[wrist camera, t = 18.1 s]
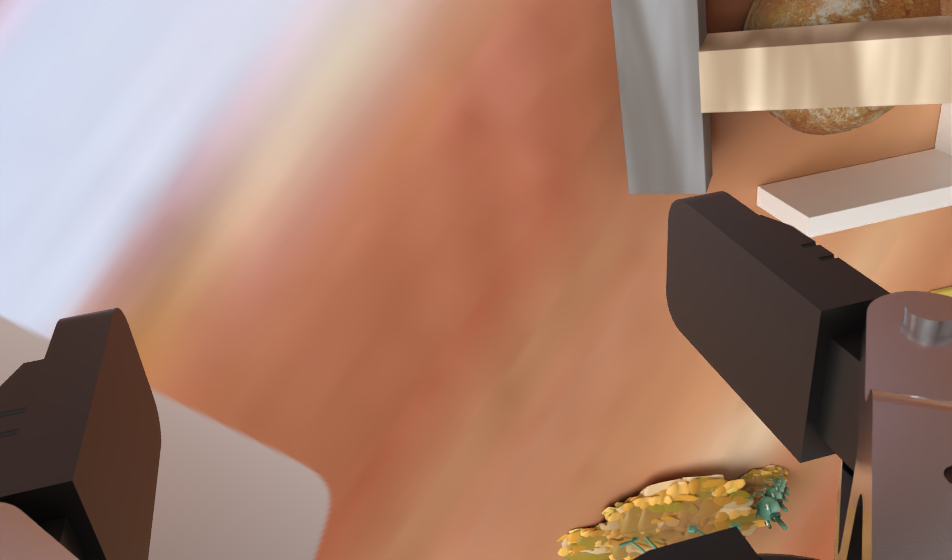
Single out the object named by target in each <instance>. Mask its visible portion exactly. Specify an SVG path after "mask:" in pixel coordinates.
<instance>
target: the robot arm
mask: <svg viewBox="0 0 952 560" xmlns="http://www.w3.org/2000/svg"><path fill="white" fill-rule="evenodd" d="M666 295H667V302H668V307H669V311H670V314H671V316H672V319H673V321H674V323H675V325H676V326H677V328H678V329H679V331H680V332H681V333H682V334H683V335H684V336H685V337H686V338H687V339H688V340H689V342H690V343H691V344H692V345H693V346H694V347H695V348H696V349H697V350H698V351H699V353H700V354H701V355H702V356H703V357H704V358H705V359H706V360H707V361H708V362H709V363H710V365H711V366H712V367H713V368H714V369H715V370H716V371H717V372H718V373H719V374H720V376H721V377H722V378H723V379H724V380H725V381H726V382H727V383H728V384H729V385H730V387H731V388H732V389H733V390H734V391H735V392H736V393H737V394H738V395H739V396H740V397H741V399H742V400H743V401H744V402H745V403H746V404H747V405H748V406H749V407H750V408H751V410H752V411H753V412H754V413H755V414H756V415H757V416H758V417H759V418H760V419H761V421H762V422H763V423H764V424H765V425H766V426H767V427H768V428H769V429H770V430H771V431H772V433H773V434H774V435H775V436H776V437H777V438H778V439H779V440H780V441H781V442H782V444H783V445H784V446H785V447H786V448H787V449H788V450H789V451H790V452H791V453H792V455H793V456H794V457H795V458H796V459H797V460H798V461H799V462H800V463H802V462H806V461H809V460H813V459H817V458H821V457H825V456H828V455H832V454H837V455H838V456H839V457H840V458H841V459H842V461H841V467H840V473H839V478H838V491H837V509H836V527H835V545H834V560H952V297H950V296H946V295H942V294H937V293H931V292H920V291H904V292H895V293H889V292H888V291H886V290H885V289H883V288H882V287H880V286H879V285H877V284H876V283H875V282H873V281H872V280H870V279H869V278H867V277H866V276H864V275H863V274H861V273H860V272H859V271H857V270H856V269H854V268H853V267H851V266H850V265H848V264H847V263H846V262H844V261H843V260H841V259H840V258H834V254H832V253H831V252H830V251H828V250H827V249H825V248H824V247H822V246H821V245H816V244H815V241H814V240H812V239H811V238H809V237H808V236H806V235H805V234H804V233H802V232H801V231H799V230H798V229H796V228H795V227H793V226H791V225H788V224H785V223H782V222H780V221H777V220H774V219H771V218H768V217H765V216H762V215H758V214H756V213H755V212H753V211H752V210H751V209H749V208H748V207H746V206H745V205H744V204H742V203H741V202H739V201H738V200H737V199H735V198H734V197H732V196H731V195H730V194H728V193H726V192H723V191H720V192H715V193H709V194H704V195H699V196H694V197H689V198H684V199H679V200H676V201H674V202H673V203H672V205H671V208H670V211H669V218H668V249H667V282H666ZM160 449H161V431H160V422H159V417H158V412H157V407H156V404H155V401H154V397H153V394H152V391H151V388H150V386H149V383H148V380H147V377H146V374H145V371H144V368H143V365H142V362H141V360H140V357H139V354H138V351H137V348H136V345H135V342H134V339H133V336H132V333H131V331H130V328H129V325H128V322H127V320H126V318H125V316H124V314H123V312H122V311H121V310H120V309H119V308H114V309H109V310H104V311H99V312H93V313H88V314H83V315H78V316H73V317H68V318H63V319H60V320H59V321H58V322H57V324H56V327H55V330H54V333H53V336H52V339H51V341H50V344H49V347H48V350H47V353H46V355H45V358H44V359H42V360H38V361H33V362H27V363H24V364H23V365H21V366H20V367H19V369H17V370H16V371H15V372H14V373H13V374H12V375H11V376H10V377H9V378H8V379H7V380H6V381H5V382H4V383H3V384H2V385H1V386H0V560H148V555H149V546H150V537H151V528H152V520H153V519H152V518H153V511H154V501H155V492H156V484H157V476H158V467H159V458H160ZM632 560H819V559H815V558H809V557H802V556H795V555H785V554H756V552H755V551H754V550H753V548H752V547H751V545H750V544H749V543H748V541H747V540H746V539H745V537H744V536H743V535H742V533H741V532H740V531H739V529H738V528H737V526H735V527H731V528H728V529H724V530H720V531H717V532H713V533H710V534H706V535H702V536H699V537H695V538H691V539H688V540H684V541H681V542H677V543H673V544H670V545H666V546H662V547H659V548H655V549H652V550H649V551H647V552H645V553H643V554H641V555H640V556H638V557H636V558H634V559H632Z"/></svg>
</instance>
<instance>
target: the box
mask: <svg viewBox="0 0 952 560" xmlns="http://www.w3.org/2000/svg"><path fill="white" fill-rule="evenodd" d="M951 205H952V103H942V106H941V112H940V118H939V124H938V130H937V136H936V142H935V148H934V149H930V150H925V151H921V152H916V153H911V154H907V155H902V156H897V157H893V158H888V159H883V160H878V161H874V162H869V163H864V164H860V165H855V166H850V167H846V168H841V169H836V170H831V171H827V172H822V173H817V174H813V175H808V176H803V177H799V178H794V179H789V180H784V181H780V182H775V183H770V184H766V185H761V186H758V191H757V206H759V207H761V208H762V209H764V210H765V211H767V212H768V213H770V214H771V215H773V216H774V217H776V218H777V219H779V220H780V221H782V222H783V223H785V224H788V225H791V226H793V227H795V228H796V229H798V230H799V231H801V232H802V233H804V234H805V235H806V236H808V237H809V238H810V237H815V236H819V235H824V234H828V233H832V232H837V231H841V230H846V229H850V228H854V227H859V226H863V225H867V224H872V223H876V222H881V221H885V220H889V219H894V218H898V217H903V216H907V215H911V214H916V213H920V212H924V211H929V210H933V209H938V208H942V207H946V206H951Z"/></svg>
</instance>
